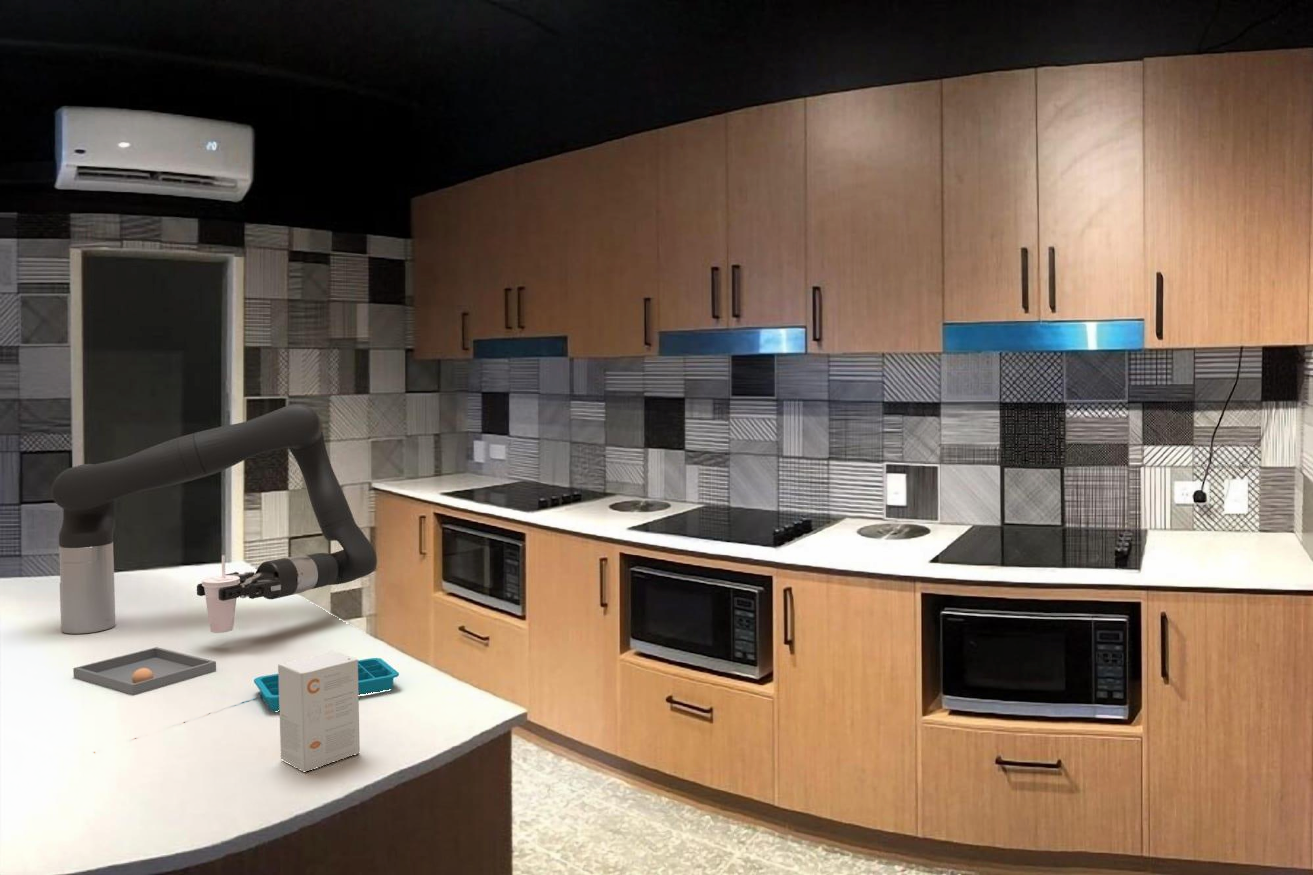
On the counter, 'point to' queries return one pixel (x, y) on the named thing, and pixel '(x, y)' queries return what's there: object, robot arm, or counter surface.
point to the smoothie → (220, 601)
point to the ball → (142, 675)
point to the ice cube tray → (370, 679)
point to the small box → (318, 709)
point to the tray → (160, 661)
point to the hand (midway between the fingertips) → (209, 592)
